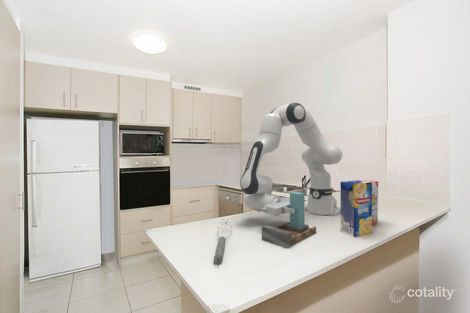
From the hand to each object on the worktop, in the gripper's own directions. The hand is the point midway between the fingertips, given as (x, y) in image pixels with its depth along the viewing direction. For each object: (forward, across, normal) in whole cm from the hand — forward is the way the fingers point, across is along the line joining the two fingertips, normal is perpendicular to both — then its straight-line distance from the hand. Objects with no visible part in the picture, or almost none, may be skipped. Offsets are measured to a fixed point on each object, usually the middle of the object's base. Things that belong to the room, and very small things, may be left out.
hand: (299, 209), depth 97 cm
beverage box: (+17, +18, +10) cm, 27 cm away
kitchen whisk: (-14, -31, +10) cm, 36 cm away
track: (-1, -5, +10) cm, 11 cm away
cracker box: (+17, +33, +10) cm, 39 cm away
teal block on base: (-1, 0, +8) cm, 8 cm away
